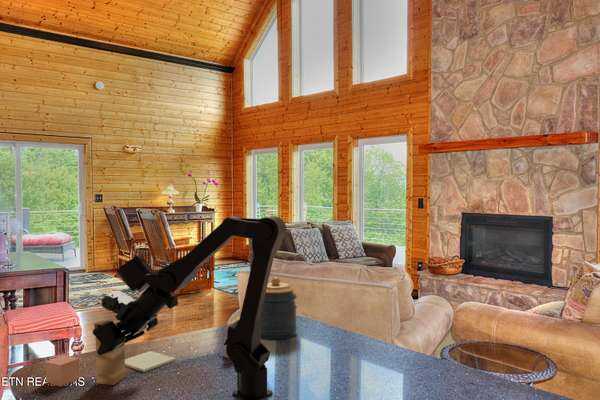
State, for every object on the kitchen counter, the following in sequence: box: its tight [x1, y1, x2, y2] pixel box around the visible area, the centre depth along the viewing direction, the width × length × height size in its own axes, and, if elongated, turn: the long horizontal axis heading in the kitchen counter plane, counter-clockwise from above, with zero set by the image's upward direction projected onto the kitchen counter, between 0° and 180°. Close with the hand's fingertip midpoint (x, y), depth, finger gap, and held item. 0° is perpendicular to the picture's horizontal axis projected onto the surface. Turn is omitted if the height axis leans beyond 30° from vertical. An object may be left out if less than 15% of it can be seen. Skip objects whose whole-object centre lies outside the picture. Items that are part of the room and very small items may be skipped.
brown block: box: [93, 317, 126, 386], centre depth 116 cm, size 5×5×14 cm
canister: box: [260, 276, 298, 341], centre depth 152 cm, size 13×13×18 cm
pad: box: [125, 350, 176, 373], centre depth 128 cm, size 10×10×1 cm
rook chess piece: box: [222, 325, 231, 360], centre depth 133 cm, size 4×4×8 cm
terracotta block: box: [45, 355, 80, 387], centre depth 116 cm, size 5×5×5 cm
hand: (105, 350), depth 116 cm, fingers closed on brown block, 5 cm apart
